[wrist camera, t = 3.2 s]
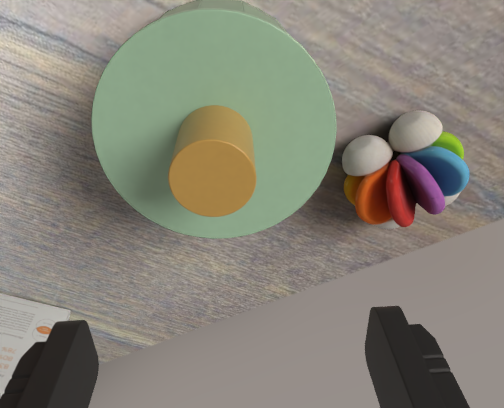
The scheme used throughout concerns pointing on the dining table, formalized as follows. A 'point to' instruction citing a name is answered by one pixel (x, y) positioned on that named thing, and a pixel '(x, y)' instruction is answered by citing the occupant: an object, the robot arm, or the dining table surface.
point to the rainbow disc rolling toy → (404, 171)
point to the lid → (213, 123)
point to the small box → (23, 330)
